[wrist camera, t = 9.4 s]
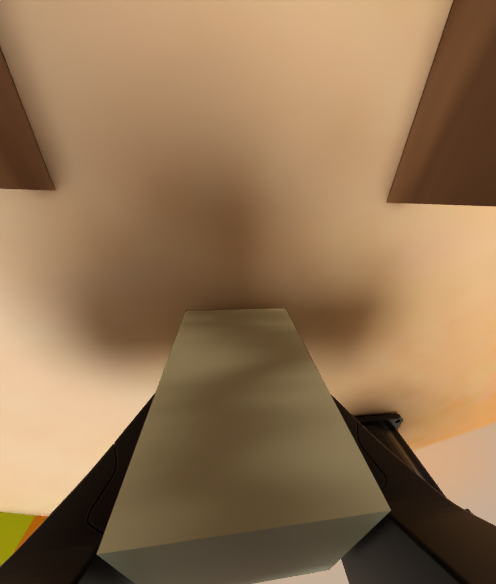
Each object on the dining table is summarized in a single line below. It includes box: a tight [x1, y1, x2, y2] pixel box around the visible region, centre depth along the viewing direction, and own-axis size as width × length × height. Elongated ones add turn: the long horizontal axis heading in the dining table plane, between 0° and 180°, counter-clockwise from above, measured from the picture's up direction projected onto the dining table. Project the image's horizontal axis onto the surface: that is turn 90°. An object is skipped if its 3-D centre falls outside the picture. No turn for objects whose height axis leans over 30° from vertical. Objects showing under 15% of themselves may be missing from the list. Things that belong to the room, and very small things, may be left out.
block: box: [97, 308, 391, 584], centre depth 7 cm, size 5×5×7 cm
